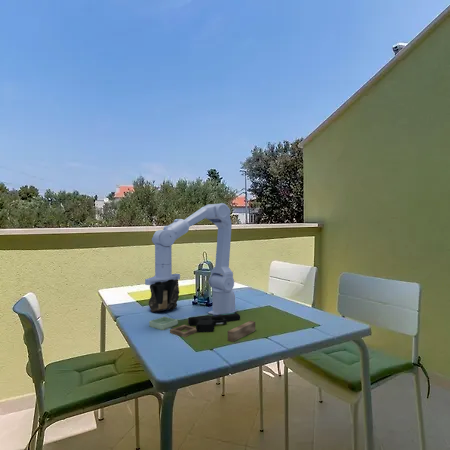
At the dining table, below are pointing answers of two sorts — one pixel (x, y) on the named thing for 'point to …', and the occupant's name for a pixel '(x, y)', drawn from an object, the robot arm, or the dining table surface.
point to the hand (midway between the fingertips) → (163, 302)
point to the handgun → (211, 321)
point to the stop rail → (241, 331)
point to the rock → (170, 305)
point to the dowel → (164, 301)
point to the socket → (184, 327)
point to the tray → (163, 323)
